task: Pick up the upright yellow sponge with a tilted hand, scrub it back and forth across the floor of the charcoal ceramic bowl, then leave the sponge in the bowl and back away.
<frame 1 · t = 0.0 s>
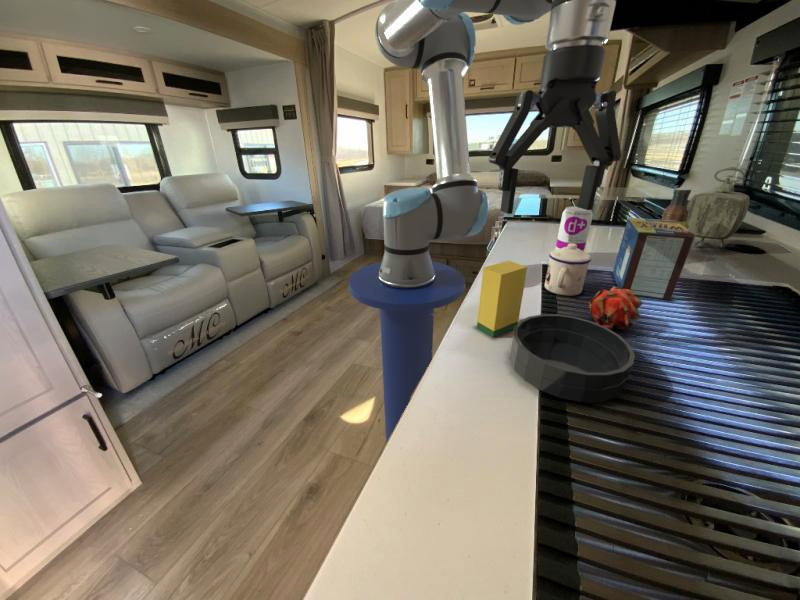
hand: (545, 210, 54), 24 cm above the worktop, tool pointing down, fingers open, 13 cm apart
sauce bottle: (662, 252, 108), on the worktop
dragon fruit: (608, 326, 67), on the worktop
teacup with lid: (561, 291, 82), on the worktop
bowl: (563, 367, 55), on the worktop
protein box: (638, 286, 85), on the worktop
sponge: (497, 327, 67), on the worktop
supplement can: (567, 257, 106), on the worktop
tabletop clock: (700, 246, 113), on the worktop
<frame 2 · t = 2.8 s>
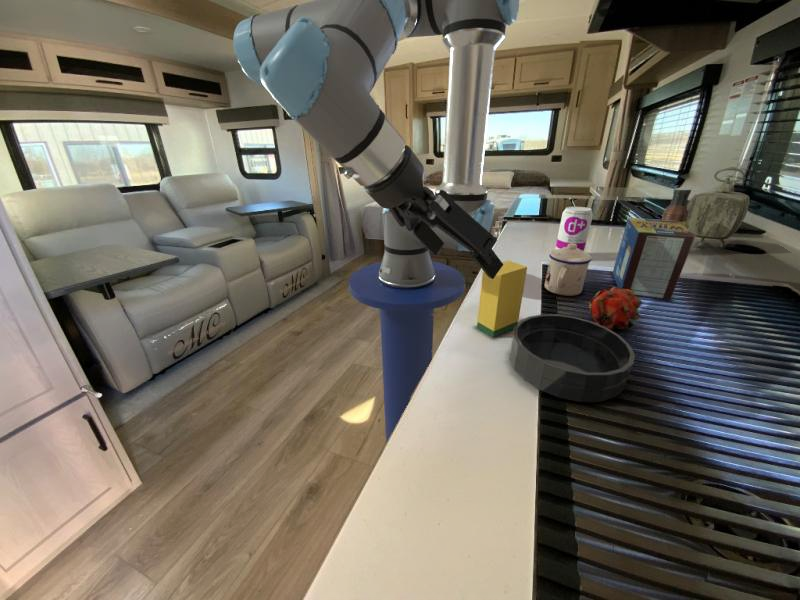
hand: (464, 259, 54), 17 cm above the worktop, tool tilted 45°, fingers open, 13 cm apart
nothing on the worktop moved.
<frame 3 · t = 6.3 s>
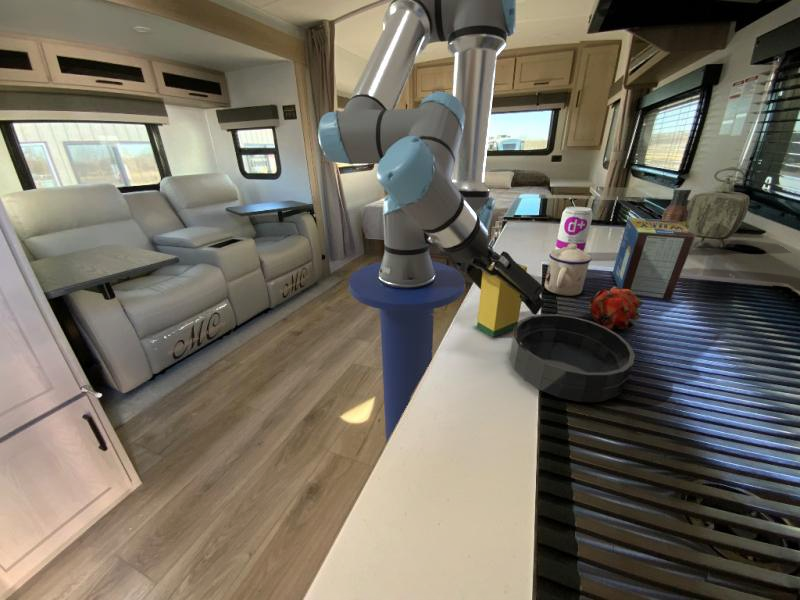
hand: (509, 295, 65), 7 cm above the worktop, tool tilted 45°, fingers open, 12 cm apart
nothing on the worktop moved.
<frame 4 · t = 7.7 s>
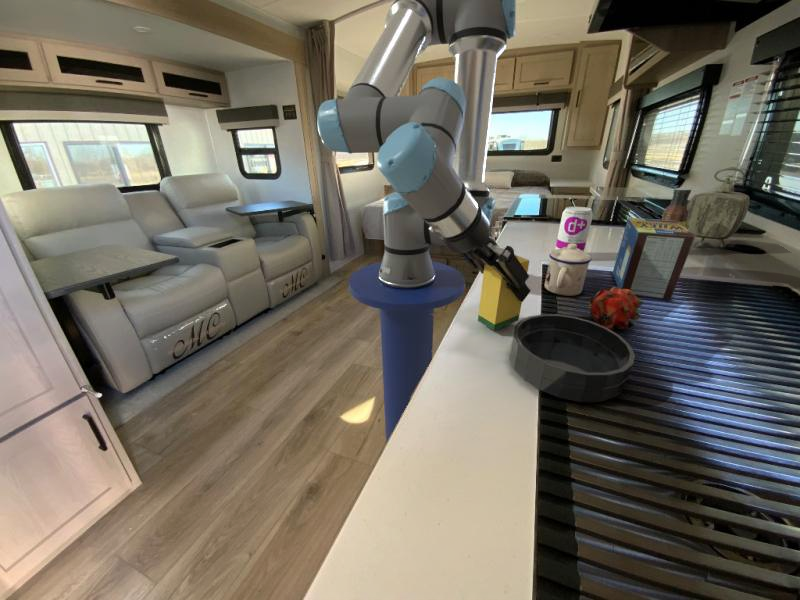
hand: (514, 290, 66), 7 cm above the worktop, tool tilted 45°, fingers closed on sponge, 4 cm apart
sponge: (498, 320, 67), point 1 cm above the worktop, touching gripper
everything else where it was.
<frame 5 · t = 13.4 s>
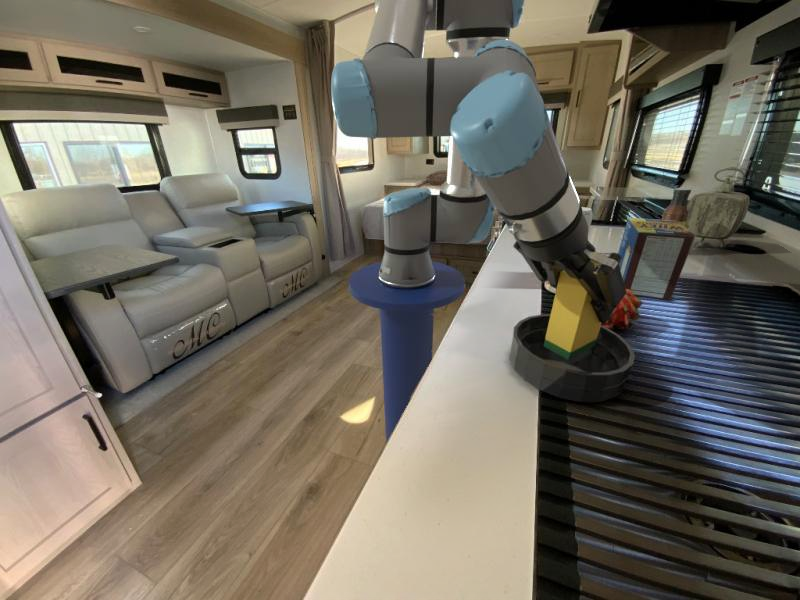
hand: (590, 309, 52), 10 cm above the worktop, tool tilted 45°, fingers closed on sponge, 4 cm apart
sponge: (568, 346, 53), point 4 cm above the worktop, touching gripper
everything else where it was.
when the fingers open (6 cm above the worktop, at t = 19.0 s): sponge stays where it is, resting on bowl.
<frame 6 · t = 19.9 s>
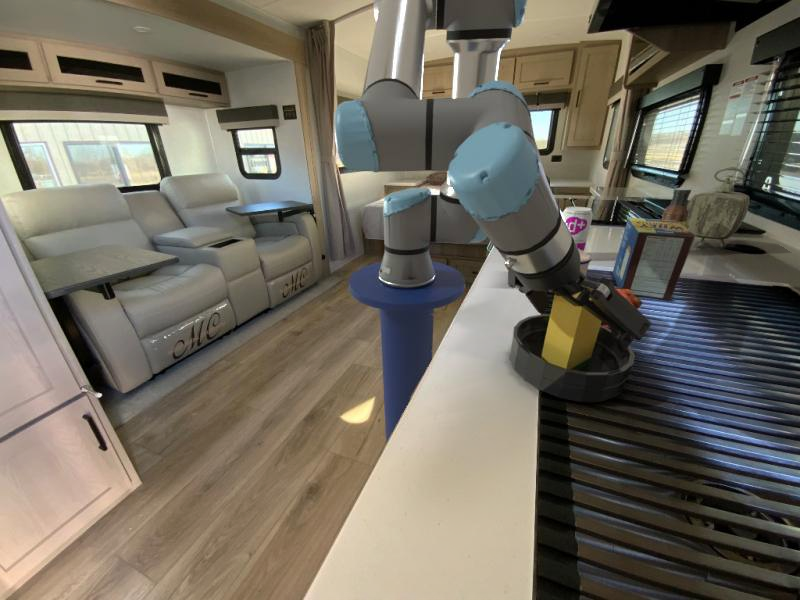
hand: (581, 323, 53), 8 cm above the worktop, tool tilted 45°, fingers open, 13 cm apart
sponge: (564, 364, 55), point 1 cm above the worktop, touching bowl
everything else where it was.
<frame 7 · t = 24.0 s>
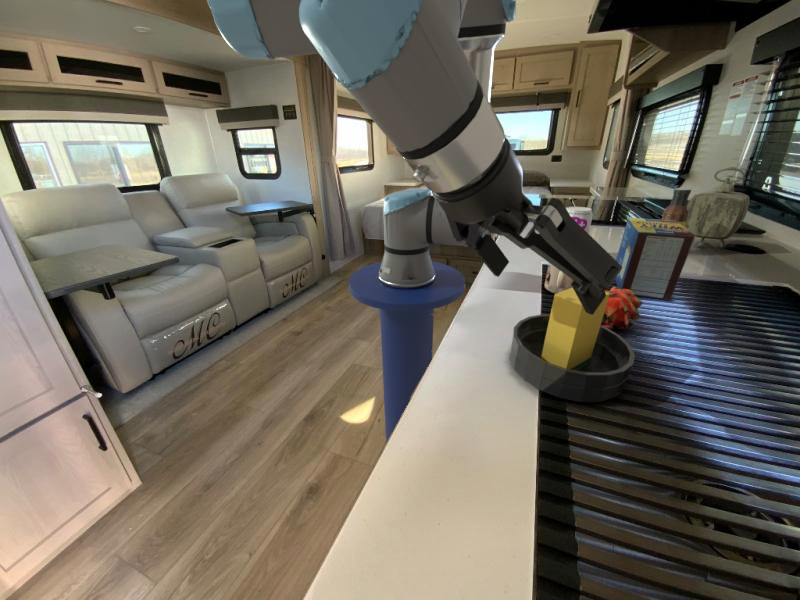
hand: (543, 284, 42), 18 cm above the worktop, tool tilted 45°, fingers open, 13 cm apart
nothing on the worktop moved.
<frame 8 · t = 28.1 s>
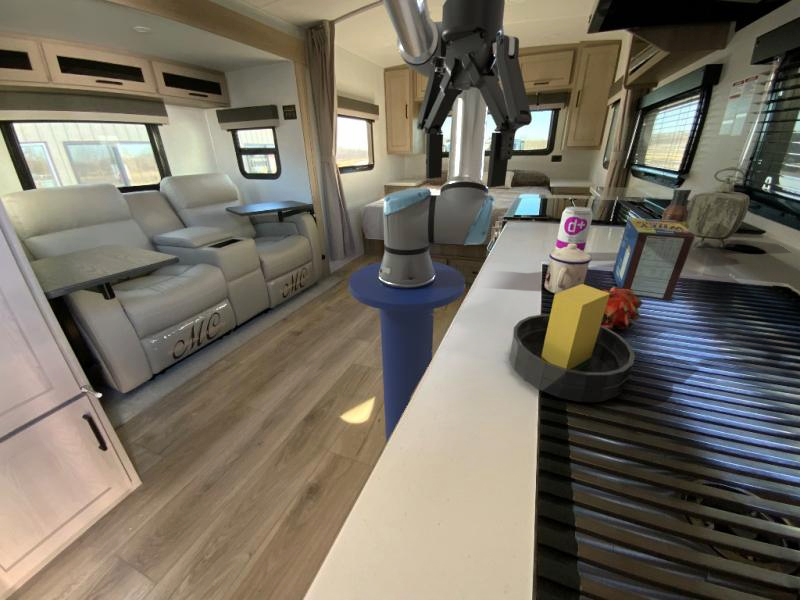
hand: (461, 181, 50), 29 cm above the worktop, tool pointing down, fingers open, 13 cm apart
nothing on the worktop moved.
at the end: sponge inside the target area in the bowl (0.2 cm from its centre), point 0.6 cm above the bowl's base; sponge moved 15.2 cm from its start; the gripper is holding nothing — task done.
